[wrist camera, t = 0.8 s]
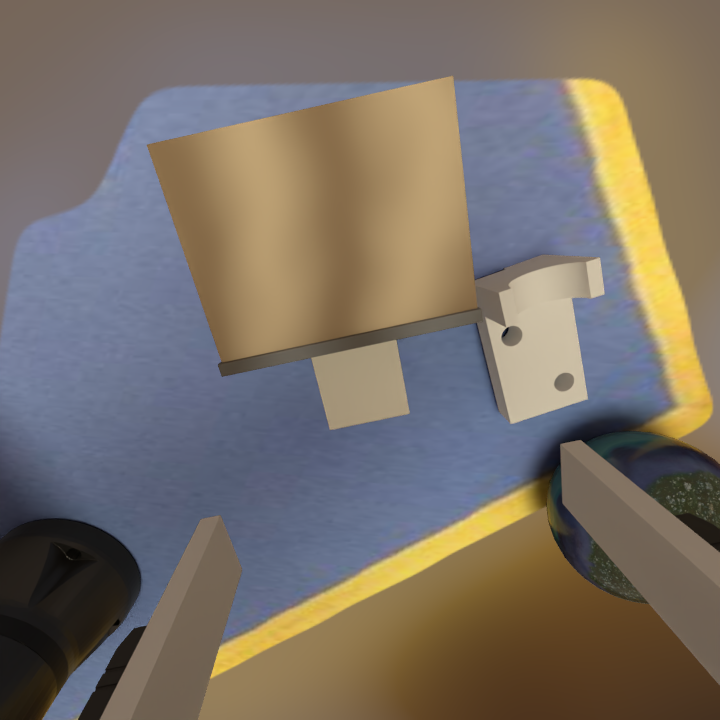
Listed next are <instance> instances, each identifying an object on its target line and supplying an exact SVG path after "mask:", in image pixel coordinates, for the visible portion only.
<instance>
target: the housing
mask: <svg viewBox="0 0 720 720" xmlns="http://www.w3.org/2000/svg"><path fill="white" fill-rule="evenodd" d="M147 147H148V150H149V153H150V156H151V158H152V161H153V164H154V167H155V170H156V173H157V176H158V179H159V182H160V184H161V187H162V190H163V193H164V196H165V199H166V202H167V205H168V208H169V211H170V213H171V216H172V219H173V222H174V225H175V228H176V231H177V234H178V237H179V240H180V242H181V245H182V248H183V251H184V254H185V257H186V260H187V263H188V266H189V269H190V271H191V274H192V277H193V280H194V283H195V286H196V289H197V292H198V295H199V298H200V300H201V303H202V306H203V309H204V312H205V315H206V318H207V321H208V324H209V327H210V329H211V332H212V335H213V338H214V341H215V344H216V347H217V350H218V353H219V356H220V358H221V361H222V362H220V363H219V364H218V367H219V370H220V373H221V376H222V377H223V376H228V375H233V374H237V373H242V372H247V371H251V370H256V369H261V368H266V367H270V366H275V365H280V364H284V363H289V362H294V361H299V360H303V359H308V358H313V357H317V356H322V355H327V354H332V353H336V352H341V351H346V350H350V349H355V348H360V347H365V346H369V345H374V344H379V343H383V342H388V341H393V340H398V339H402V338H407V337H412V336H416V335H421V334H426V333H430V332H435V331H440V330H445V329H449V328H454V327H459V326H463V325H468V324H473V323H478V322H482V321H483V314H482V309H481V308H479V307H477V298H476V289H475V279H474V270H473V260H472V251H471V241H470V232H469V222H468V213H467V203H466V194H465V184H464V175H463V165H462V156H461V146H460V137H459V127H458V118H457V108H456V99H455V89H454V80H453V76H450V77H445V78H441V79H436V80H432V81H427V82H423V83H419V84H414V85H410V86H405V87H401V88H396V89H392V90H387V91H383V92H379V93H374V94H370V95H365V96H361V97H356V98H352V99H348V100H343V101H339V102H334V103H330V104H325V105H321V106H316V107H312V108H308V109H303V110H299V111H294V112H290V113H285V114H281V115H276V116H272V117H268V118H263V119H259V120H254V121H250V122H245V123H241V124H236V125H232V126H228V127H223V128H219V129H214V130H210V131H205V132H201V133H197V134H192V135H188V136H183V137H179V138H174V139H170V140H165V141H161V142H157V143H152V144H148V145H147Z"/></svg>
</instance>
